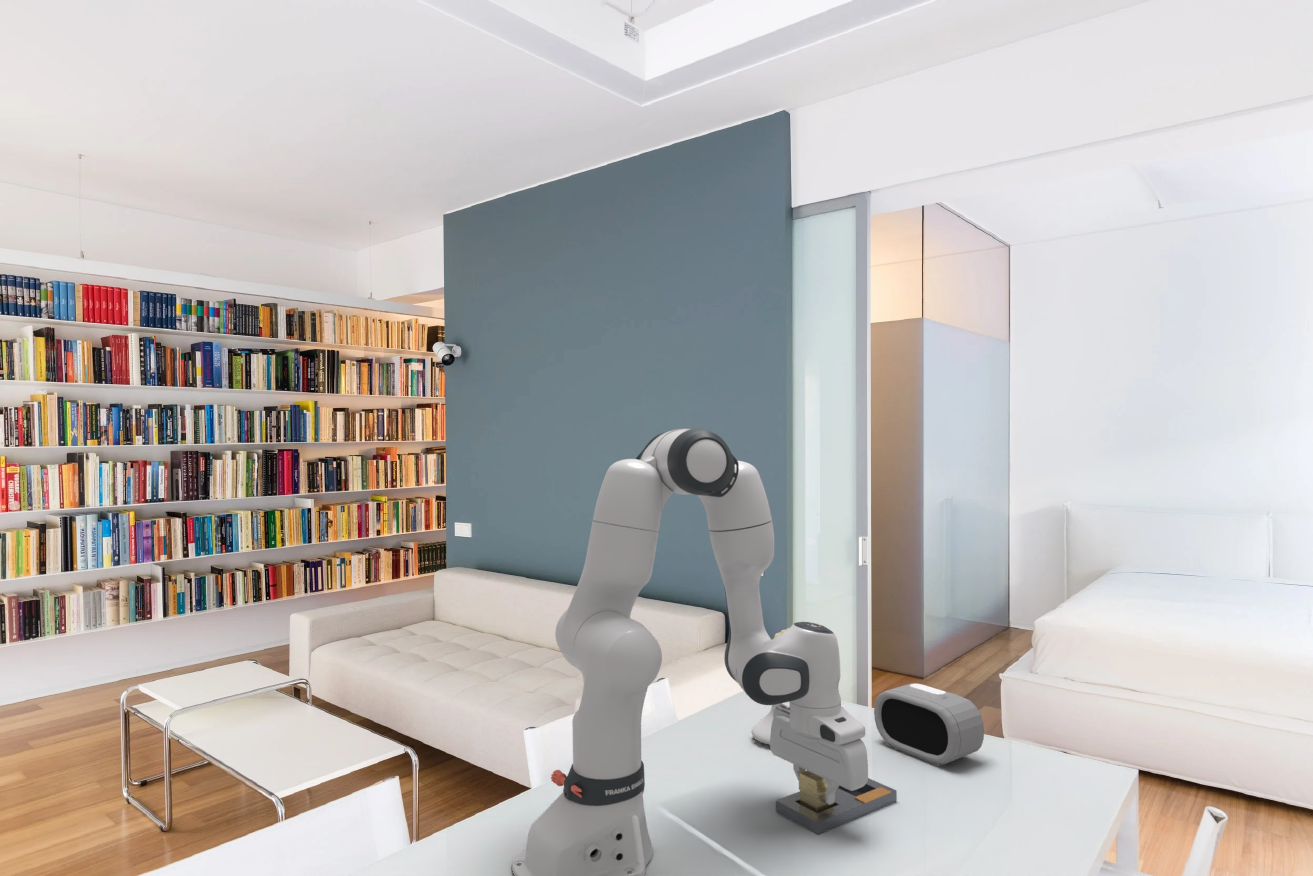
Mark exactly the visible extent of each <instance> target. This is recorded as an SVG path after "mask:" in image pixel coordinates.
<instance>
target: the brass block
mask: <svg viewBox="0 0 1313 876" xmlns="http://www.w3.org/2000/svg"><path fill="white" fill-rule="evenodd" d="M827 787H828V785H826V781H825V779H824V778H822V777H820V776H818V775H816V774H814V773H812V772H809V771H807V770H806V771H804V772H801V773H800V790H799V791H800V805H802V806H804V807H806V808H808V809H810V810H812V811H814V812H816V813H819V812H822V811H824V810H827V809H829V808H832V807H834V804H830V805H829V804H827V803H825V802H823V801H822V796H821V792H823V791H826V790H827Z"/></svg>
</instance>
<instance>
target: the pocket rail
mask: <svg viewBox="0 0 1313 876" xmlns="http://www.w3.org/2000/svg"><path fill="white" fill-rule="evenodd" d="M897 791H898V790H896V789H894V788H892V787H890V786H887V785H885V784H883V783H881V782H878V781H876V780H874V779H871V778H870V777H868V781H867V783H866V784H865V785H864V786H863V787H861V788H859V789H856V790H854V791H850V790H848V789H846V788H844V787H842V786H839V787H838V789H837V790H836V792H835V802H834V803H833V804H834V807H832V808H829V809H827V810H824V811H822V812H819V813H816V812H814V811H812V810H810V809H808V808H806V807H804V806H802V805H800V790H799V791H798V792H794V793H791V794H789V795H786V796H783V797H780V798H779V799H775V812H776V813H777V814H778V815H781V816H782V817H784V818H786V819H788V820H790V821H792V822H793V823H795V824H796V825H799V826H800V827H802V828H804V829H806V830H808V831H809V832H812V833H814V835H816V836H820V835H822V834H824V833H826V832H829V831H831V830H833V829H836V828H838V827H840V826H843V825H846V824H848V823H850V822H853V821H855V820H856V819H859V818H862V817H864V816H866V815H868V814H871V813H873V812H876V811H878V810H881V809H883V808H886V807H888V806H890V805H893V804H895V803H897V802H898V801H897V799H898V797H897V793H898V792H897Z"/></svg>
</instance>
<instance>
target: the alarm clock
mask: <svg viewBox="0 0 1313 876" xmlns="http://www.w3.org/2000/svg"><path fill="white" fill-rule="evenodd" d="M873 709H874V711H873V716H874V722H875V727H876V729H877V732H878V733H879V735H880V737H881V738H882V739H883V740H884V741H885V742H886V743H888V744H890V745H891V746H893V747H892V748H893V749H895V750H896V749H897V750H896V751H899V750H900V751H899V752H902V753H905V754H907V755H910V756H912V757H914V758H917V759H919V760H921V761H925V762H927V763H930V764H932V765H935V766H938V767H941V766H944V765H946V764H949V763H952V762H954V761H956V759H957V760H959V758H960V759H962V758H963V757H965V756H968V755H971V754H973V753H976V752H978V751H979V750H980V749H981V748H982V745H983V742H984V737H985V728H984V727H985V726H984V721H983V717H982V714H981V712H980V711H979V709H978V708H977V706H976V705H975V704H974V703H973V702H972V700H970V699H967V698H965V697H963V696H961V695H958V694H956V693H952V692H949V691H945V690H942V689H940V688H935V687H932V686H928V685H925V684H923V683H922V684H921V683H915V682H912V683H908V684H905V685H901V686H898V687H895V688H890V689H888V690H885V691H883V692H881V693H879V694H878V695H877V697H876V699H875V702H874V707H873ZM961 757H962V758H961Z"/></svg>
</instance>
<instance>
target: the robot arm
mask: <svg viewBox="0 0 1313 876" xmlns="http://www.w3.org/2000/svg"><path fill="white" fill-rule="evenodd" d="M673 494H677V495H688V496H689V495H696V496H697V497H698V498H699V499H700V502H701V503H702V505H703V507H704V510H705V512H706V520H707V527H708V533H709V539H710V544H711V547H712V552H713V555H714V558H715V561H716V565H717V568H718V570H719V572H720V576H721V580H722V582H723V588H724V594H725V600H726V601H725V603H726V609H727V617H728V625H729V626H728V627H729V628H728V629H729V630H728V632H729V633H728V638H727V642H726V647H725V650H724V656H723V657H724V658H723V659H724V665H725V669H726V670H727V673H728V675H729V676H730V677H731V678H732V680H733V681H735V682H736V683H737V684H738V685H739V686H740V689H742V690H743V691H744V692H745V694H746V695H747V696H748V697H749V698H750V700H752V701H753V702H755V703H756V704H758V705H759V704H760V705H763V706H772V705H776V704H779V705H778V706H776V707H775V709H774V710H773V721H772V725H771V734H770V745H769V748H770V751H771V753H772V755H773V756H775V757H778V758H780V759H781V760H783V761H786V762H788V763H790V764H792V765H793V772H794V774H795V776H796V778H797V781H798V790H799V791H800V773H801V772H804V771H809V772H812V773H814V774H816V775H818V776H820V777H822V778H824V779H825V781H826V785H828V787H827V790H826V791H823V792H821V796H822V801H823V802H825V803H827V804H829V805H830V804H833V803H834V802H835V792H836V790H837V789H838V787H839V786H842V787H844V788H846V789H848V790H850V791H854V790H856V789H859V788H861V787H863V786H864V785H865V784H866V783H867V781H868V778H869V765H868V763H869V761H868V752H867V748H866V745H865V743H864V741H863V740H862V738H864V737H865V736H866V728H865V725H864V724H863V723H862V722H861V721H859V720H858V719H857V718H856V717H854V715H852V714H851V713H849V712H848V711H847V709H845V707H843V706H842V698H841V695H840V690H839V685H840V679H841V657H840V650H839V649H840V648H839V642H838V638H837V636H836V634H835V633H834V632H833V631H832V630H831V629H830V628H828V627H826V626H825V625H821V624H819V623H815V622H809V621H797V622H794V623H793V624H792V625H791V626H790V627H788V628H789V629H788V630H787V629H786V630H787V631H785V632H784V633H783V634H781V635H780V636H778V637H776V638H774V637H773V638H771V637H770V635H769V634H768V632H767V630H766V627H765V624H764V617H763V608H762V600H761V593H760V592H761V591H760V581H761V577H762V575H763V573H764V572H765V571H766V570H767V569H768V568H769V567H770V566H771V564H772V562H773V561H774V558H775V532H774V530H775V529H774V524H773V519H772V513H771V508H770V503H769V499H768V497H767V492H766V490H765V487H764V484H763V481H762V478H761V476H760V473H759V471H758V469H757V468H756V467H755V466H754V465H752V464H751V463H749V462H746V461H742V460H737V458H736V457H735V456H734V454H733V453H732V450H731V449H730V448H729V446H728V444H727V442H726V441H725V440H724V439H723V438H722V437H721V436H720V435H719V434H717V433H716V432H713V431H711V430H708V429H705V428H700V427H699V428H691V429H690V428H677V429H676V428H675V429H671V430H670V431H665V432H661V433H660V434H657V435H655V436H654V437H653V438H651V440H649V441H648V442H647V443H646V445H645V446H644V448H643V449H642V450H641V452H640V453H639V454H638V455H637V457H636V458H626V459H625V458H624V459H620V460H617V461H615V462H614V463H612V464H610V466H609V467H608V469H607V471H606V473H605V476H604V478H603V480H602V483H601V487H600V489H599V493H598V496H597V499H596V503H595V507H594V512H593V515H592V516H593V517H592V522H591V528H590V533H589V537H588V544H587V550H586V556H585V560H584V565H583V569H582V572H581V575H580V577H579V581H578V584H577V586H576V588H575V591H574V593H573V596H572V598H571V601H570V603H569V606H568V608H567V609H566V610H565V611H564V612H563V613H562V614H561V616H559V619H558V621H557V624H556V626H555V640H556V641H555V642H556V645H557V647H558V649H559V650H560V652H561V654H562V656H563V657H564V659H565V660H566V661H567V662H568V664H570V665H571V666H573V667H574V668H576V669H577V670H578V671H580V672H581V675H582V678H583V687H582V694H581V700H580V702H579V703H580V704H579V707H578V710H576V711H575V713H574V715H573V717H572V721H571V722H572V726H571V727H572V764H571V765H570V768H569V771H568V773H567V775H566V774H565V773H564V772H562V771H561V770H560V769H555V770H553V772H552V774H551V775H550V779H551V782H552V783H553V784H555V785H556V786H558V787H562V786H563V789H562V792H561V794H559V796H558V797H557V798H556V799H555V800H554V801H553V802H552V803H551V804H550V805H549V806H548V808H546V809H545V810H544V811H543V812H542V813H541V815H540V816H538V817H537V818H536V819H535V820H534V821H533V822H532V823H531V824H530V825H531V826H530V827H529V831H528V834H527V840H526V849H525V850H522V851H521V852H519V853H516V854H515V855H514V856H513V858H512V862H511V871H513V872H512V874H513V873H514V875H515V876H646V867H647V865H648V864H649V862H650V861H651V860H652V858H653V854H654V847H653V844H652V842H651V838H650V834H649V830H648V825H647V821H646V812H645V804H644V803H645V802H644V792H645V784H646V783H645V779H646V778H645V763H644V762H643V760H642V715H643V708H644V703H645V699H646V695H647V692H648V688H649V686H651V684H652V683H653V682H655V680H656V678H657V677H658V675H659V672H660V671H661V667H662V664H663V663H662V662H663V660H662V659H663V655H662V649H661V645H660V643H659V642H658V640H657V638H656V637H655V636H654V635H653V634H652V633H651V631H649V629H648V628H647V627H645V625H644V624H642V623H641V622H640V621H637V620H636V619H633V618H631V616H632V615H631V614H632V610H633V609H634V608H633V607H634V606H635V603H636V601H637V598H638V597H639V594H640V592H641V591H642V590H643V588H644V587H645V586H646V585H647V584H648V583H649V582H650V579H651V577H652V574H653V569H654V568H653V567H654V562H655V556H656V550H657V545H658V539H659V534H660V533H659V531H660V526H661V517H662V512H663V510H664V507H665V504H666V502H667V501H668V499H669V498H670V497H671V496H672V495H673ZM781 703H782V704H781ZM785 703H788V704H789V705H788V706H787V705H786V704H785ZM514 875H513V876H514Z"/></svg>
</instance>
